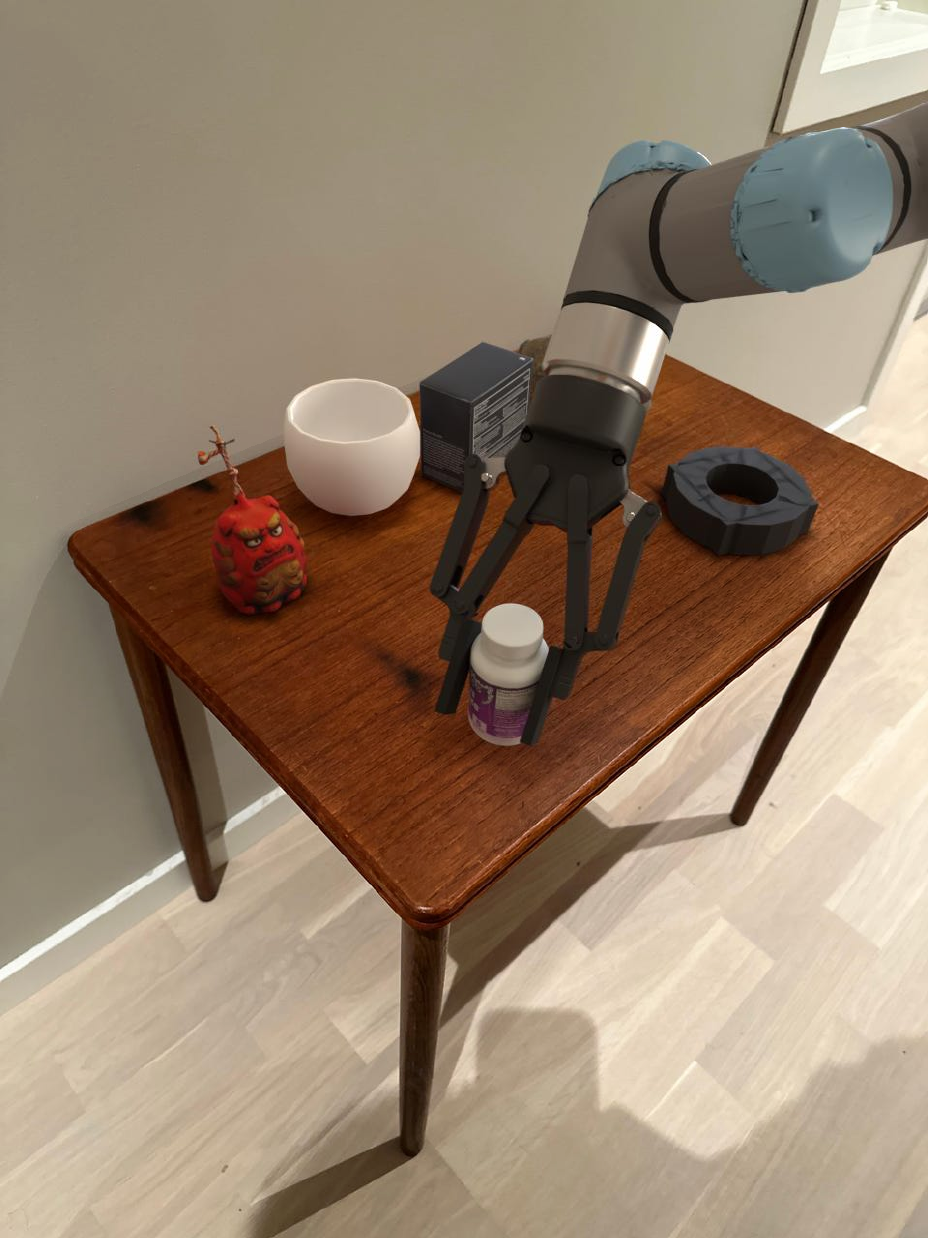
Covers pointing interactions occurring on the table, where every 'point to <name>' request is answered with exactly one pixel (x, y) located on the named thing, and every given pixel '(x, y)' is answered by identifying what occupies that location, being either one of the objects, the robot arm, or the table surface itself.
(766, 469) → the dark grey faceted ring
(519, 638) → the pill bottle
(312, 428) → the cup
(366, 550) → the table surface
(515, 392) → the small box
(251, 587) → the red clay folk toy
